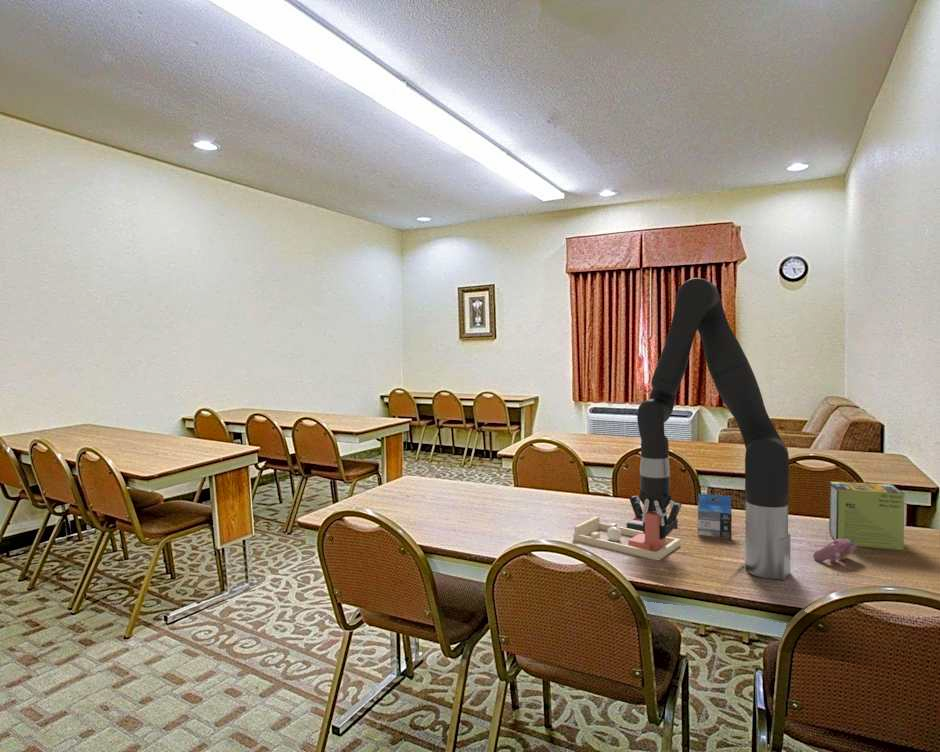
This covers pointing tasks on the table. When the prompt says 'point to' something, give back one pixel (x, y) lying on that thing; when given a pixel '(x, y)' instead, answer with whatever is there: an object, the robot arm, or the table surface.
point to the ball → (614, 533)
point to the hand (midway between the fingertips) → (655, 536)
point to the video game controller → (835, 550)
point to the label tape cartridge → (715, 516)
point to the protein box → (867, 514)
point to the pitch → (595, 525)
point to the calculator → (638, 524)
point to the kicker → (649, 534)
